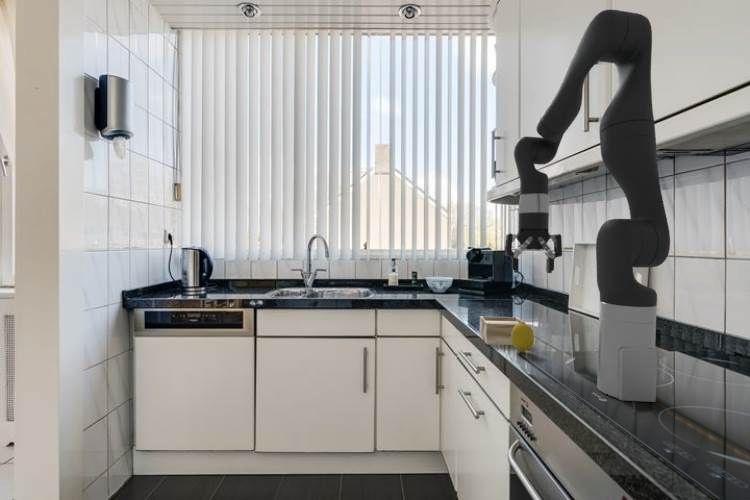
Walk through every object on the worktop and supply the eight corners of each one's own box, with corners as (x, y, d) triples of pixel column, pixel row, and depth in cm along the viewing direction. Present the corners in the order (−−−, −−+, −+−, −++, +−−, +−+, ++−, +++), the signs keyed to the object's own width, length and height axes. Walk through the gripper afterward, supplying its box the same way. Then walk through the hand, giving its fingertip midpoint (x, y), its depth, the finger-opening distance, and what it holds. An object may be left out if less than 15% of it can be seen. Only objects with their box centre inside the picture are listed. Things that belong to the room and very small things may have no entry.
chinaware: (421, 290, 230) (421, 276, 230) (444, 289, 235) (445, 276, 235) (432, 293, 216) (433, 279, 216) (457, 293, 221) (457, 279, 220)
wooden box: (527, 346, 111) (528, 325, 111) (486, 345, 112) (487, 323, 112) (516, 337, 122) (517, 317, 122) (479, 335, 123) (479, 316, 123)
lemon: (506, 350, 106) (507, 320, 105) (523, 348, 108) (523, 319, 107) (520, 356, 100) (521, 324, 100) (538, 354, 102) (539, 323, 102)
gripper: (509, 210, 105) (508, 273, 105) (566, 211, 103) (565, 274, 103) (503, 213, 112) (502, 271, 112) (556, 213, 111) (555, 272, 111)
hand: (532, 272), depth 108 cm, fingers open, 8 cm apart
